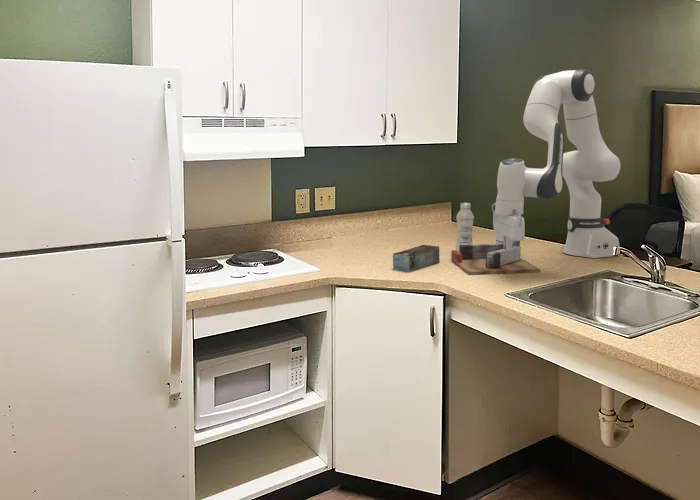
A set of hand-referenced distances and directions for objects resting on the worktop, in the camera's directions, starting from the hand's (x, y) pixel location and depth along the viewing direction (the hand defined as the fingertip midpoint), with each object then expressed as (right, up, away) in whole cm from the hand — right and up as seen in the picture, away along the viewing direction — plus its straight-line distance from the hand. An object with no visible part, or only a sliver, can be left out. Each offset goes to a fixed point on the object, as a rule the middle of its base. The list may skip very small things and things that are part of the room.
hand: (507, 249), depth 208 cm
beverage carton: (-28, -6, +17) cm, 34 cm away
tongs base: (-1, -6, +14) cm, 16 cm away
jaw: (+2, -5, +13) cm, 14 cm away
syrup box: (+8, -2, +35) cm, 36 cm away
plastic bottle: (-8, -2, +35) cm, 35 cm away
